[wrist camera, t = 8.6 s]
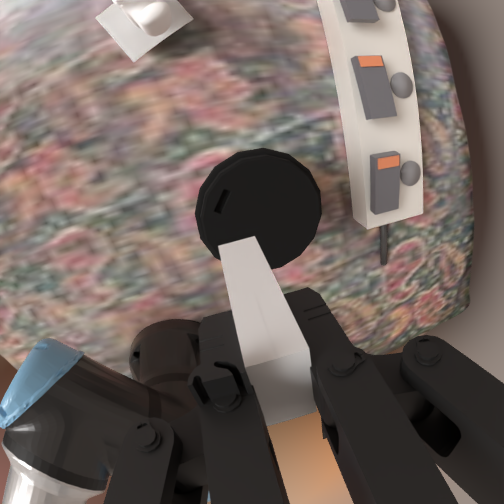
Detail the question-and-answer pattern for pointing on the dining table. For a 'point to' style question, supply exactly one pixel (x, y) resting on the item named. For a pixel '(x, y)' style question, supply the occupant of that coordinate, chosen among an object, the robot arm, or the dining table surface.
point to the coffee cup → (260, 204)
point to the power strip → (383, 129)
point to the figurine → (142, 23)
